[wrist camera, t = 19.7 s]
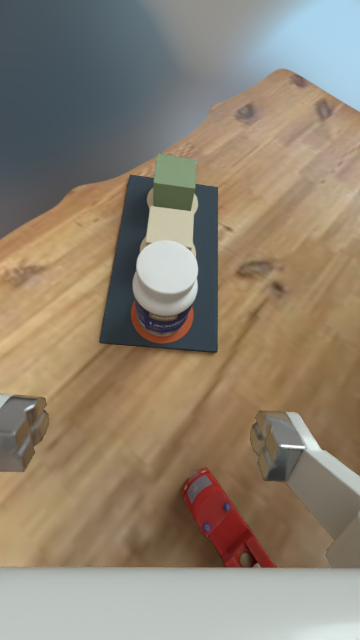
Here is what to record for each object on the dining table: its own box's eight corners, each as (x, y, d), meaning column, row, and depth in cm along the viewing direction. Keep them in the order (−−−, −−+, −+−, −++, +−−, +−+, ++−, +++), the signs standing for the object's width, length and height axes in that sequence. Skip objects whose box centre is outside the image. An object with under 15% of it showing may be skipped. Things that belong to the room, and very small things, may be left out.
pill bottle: (150, 346, 25) (149, 313, 16) (128, 303, 26) (115, 248, 17) (195, 323, 26) (219, 281, 17) (172, 283, 28) (182, 224, 18)
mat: (130, 177, 34) (129, 173, 33) (216, 189, 35) (218, 186, 34) (100, 343, 25) (98, 341, 24) (216, 352, 26) (217, 351, 25)
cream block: (150, 233, 30) (150, 205, 26) (188, 237, 30) (194, 211, 26) (146, 265, 28) (145, 242, 24) (186, 270, 29) (192, 247, 24)
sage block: (156, 185, 33) (157, 153, 29) (191, 190, 33) (196, 159, 29) (153, 212, 31) (153, 182, 27) (189, 217, 31) (195, 188, 27)
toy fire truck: (203, 459, 22) (237, 500, 13) (302, 606, 19) (432, 785, 10) (175, 485, 21) (192, 546, 12) (275, 642, 18) (392, 874, 9)
